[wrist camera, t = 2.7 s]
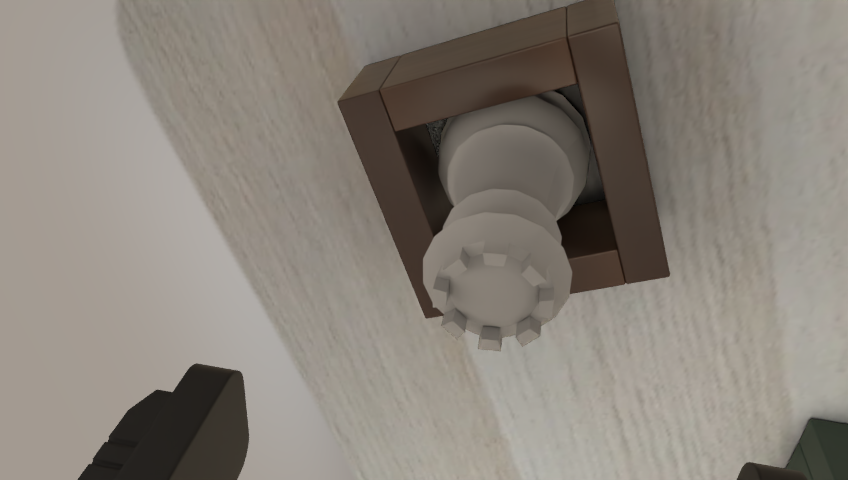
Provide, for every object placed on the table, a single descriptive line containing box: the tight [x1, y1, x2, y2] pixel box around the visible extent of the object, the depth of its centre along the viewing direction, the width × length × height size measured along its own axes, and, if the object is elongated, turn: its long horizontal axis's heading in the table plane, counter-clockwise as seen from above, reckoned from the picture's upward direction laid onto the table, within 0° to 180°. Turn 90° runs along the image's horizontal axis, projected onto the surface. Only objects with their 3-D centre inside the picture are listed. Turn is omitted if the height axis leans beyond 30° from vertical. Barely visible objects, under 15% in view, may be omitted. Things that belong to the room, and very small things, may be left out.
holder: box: [338, 0, 670, 318], centre depth 20 cm, size 7×7×3 cm
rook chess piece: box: [423, 91, 591, 351], centre depth 18 cm, size 4×4×8 cm
